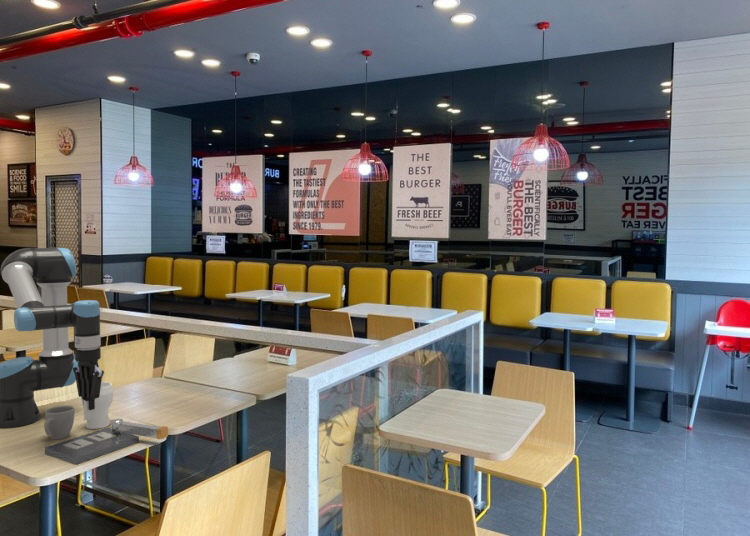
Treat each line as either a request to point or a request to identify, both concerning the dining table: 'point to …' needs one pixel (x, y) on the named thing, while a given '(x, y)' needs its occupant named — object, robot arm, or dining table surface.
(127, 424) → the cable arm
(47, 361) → the robot arm
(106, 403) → the cup
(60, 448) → the chassis
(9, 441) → the dining table surface
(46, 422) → the mug
